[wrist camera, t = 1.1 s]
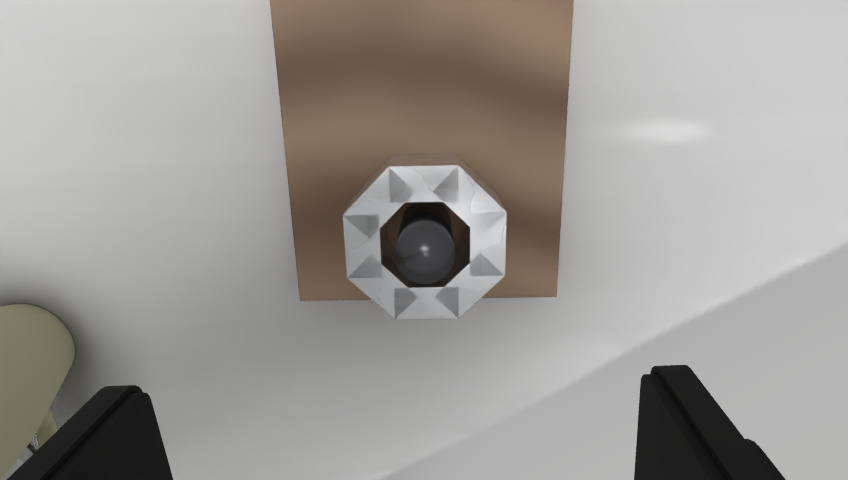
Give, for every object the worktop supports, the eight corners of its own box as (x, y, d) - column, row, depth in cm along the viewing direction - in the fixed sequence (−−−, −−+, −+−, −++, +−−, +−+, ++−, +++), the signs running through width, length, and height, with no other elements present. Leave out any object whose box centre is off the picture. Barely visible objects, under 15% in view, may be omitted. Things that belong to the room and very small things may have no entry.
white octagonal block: (428, 313, 28) (427, 347, 24) (327, 224, 26) (311, 247, 23) (525, 221, 26) (539, 244, 23) (423, 121, 25) (422, 130, 21)
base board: (551, 287, 28) (556, 296, 27) (305, 291, 29) (300, 300, 27) (577, -190, 22) (585, -204, 21) (259, -180, 22) (250, -193, 21)
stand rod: (426, 255, 27) (425, 295, 22) (391, 223, 26) (382, 256, 22) (460, 222, 26) (467, 255, 22) (425, 188, 26) (424, 215, 21)
